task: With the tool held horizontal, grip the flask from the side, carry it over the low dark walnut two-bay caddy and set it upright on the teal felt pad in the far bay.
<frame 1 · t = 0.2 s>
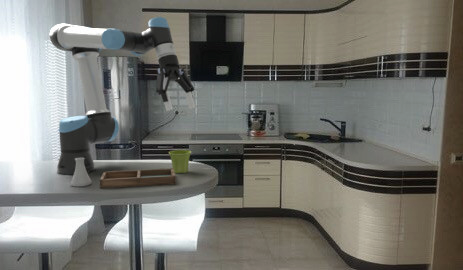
hand: (181, 109, 147), 27 cm above the table, tool tilted 20°, fingers open, 13 cm apart
plant pot: (180, 172, 162), on the table
walnut caddy: (139, 181, 146), on the table
flask: (81, 185, 141), on the table
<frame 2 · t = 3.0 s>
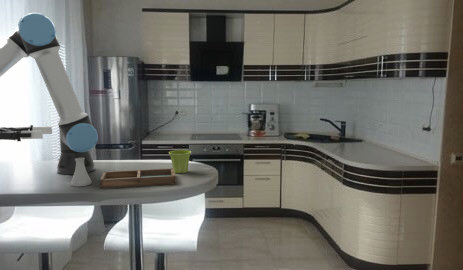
hand: (47, 132, 137), 20 cm above the table, tool horizontal, fingers open, 13 cm apart
nothing on the table moved.
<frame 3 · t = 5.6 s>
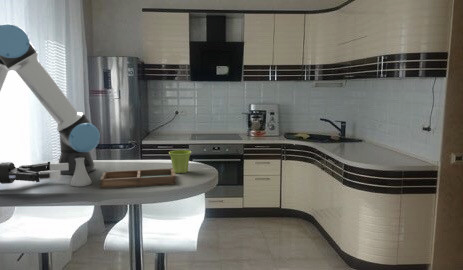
hand: (64, 170, 139), 6 cm above the table, tool horizontal, fingers open, 13 cm apart
nothing on the table moved.
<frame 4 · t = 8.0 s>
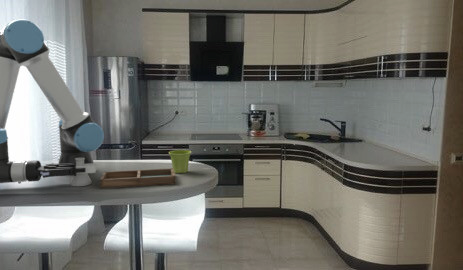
hand: (95, 167, 142), 6 cm above the table, tool horizontal, fingers closed on flask, 3 cm apart
flask: (81, 185, 141), on the table, touching gripper
everything else where it was.
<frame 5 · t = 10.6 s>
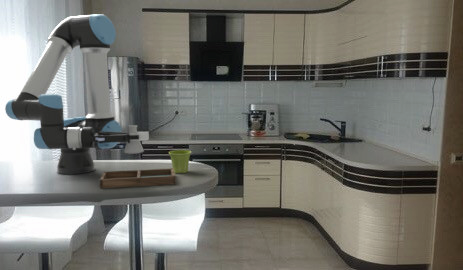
hand: (148, 135, 141), 18 cm above the table, tool horizontal, fingers closed on flask, 3 cm apart
flask: (133, 153, 140), point 12 cm above the table, touching gripper
everything else where it was.
when the fingers open (9 cm above the table, at t = 13.2 s): flask drops 2 cm, resting on walnut caddy.
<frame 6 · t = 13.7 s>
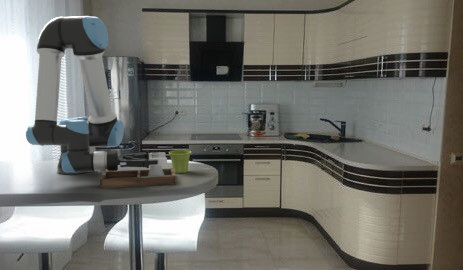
hand: (166, 158, 147), 8 cm above the table, tool horizontal, fingers open, 11 cm apart
flask: (156, 179, 147), resting on walnut caddy
everything else where it was.
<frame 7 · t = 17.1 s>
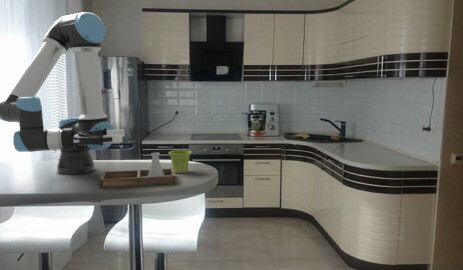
hand: (123, 135, 142), 18 cm above the table, tool horizontal, fingers open, 13 cm apart
nothing on the table moved.
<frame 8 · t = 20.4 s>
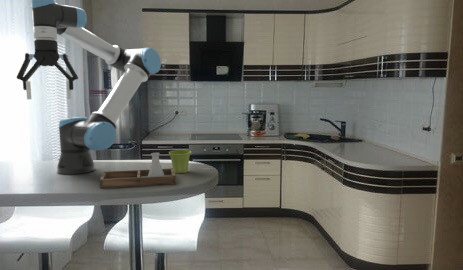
hand: (49, 99, 139), 32 cm above the table, tool pointing down, fingers open, 13 cm apart
nothing on the table moved.
at the end: flask inside the target area on the walnut caddy (0.0 cm from its centre), point 0.5 cm above the walnut caddy's base; flask tilted 0°; the gripper is holding nothing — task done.
